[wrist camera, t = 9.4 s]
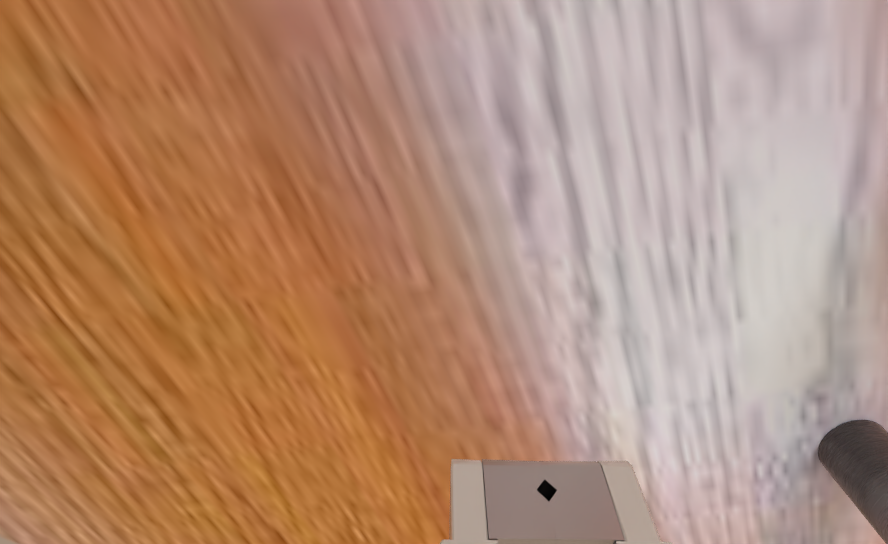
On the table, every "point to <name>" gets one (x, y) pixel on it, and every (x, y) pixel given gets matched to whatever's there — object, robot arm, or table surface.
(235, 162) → the table surface
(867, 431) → the post
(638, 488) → the robot arm
